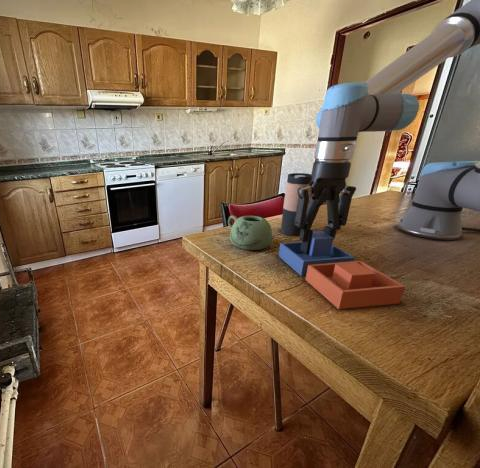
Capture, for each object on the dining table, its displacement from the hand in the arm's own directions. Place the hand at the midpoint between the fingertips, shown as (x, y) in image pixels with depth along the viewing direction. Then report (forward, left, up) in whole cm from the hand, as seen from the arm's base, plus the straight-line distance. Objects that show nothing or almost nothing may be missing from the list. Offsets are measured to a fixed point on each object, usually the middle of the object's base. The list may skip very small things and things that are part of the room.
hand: (314, 251), depth 68 cm
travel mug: (-7, -23, -4) cm, 24 cm away
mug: (+12, -17, -4) cm, 21 cm away
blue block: (0, 0, 0) cm, 0 cm away
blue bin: (0, 0, -4) cm, 4 cm away
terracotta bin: (0, +13, -4) cm, 14 cm away
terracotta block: (0, +13, -3) cm, 13 cm away
